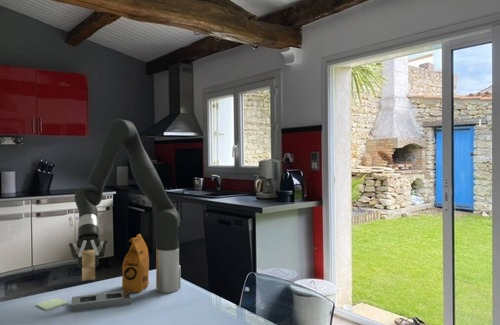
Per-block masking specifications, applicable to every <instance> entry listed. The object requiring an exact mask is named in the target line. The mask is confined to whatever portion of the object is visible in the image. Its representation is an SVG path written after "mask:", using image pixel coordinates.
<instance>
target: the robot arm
mask: <svg viewBox="0 0 500 325" xmlns="http://www.w3.org/2000/svg"><path fill="white" fill-rule="evenodd" d="M121 146H123V147H124V149H125V152H126V153H127V155H128V159H129V165H130V170H131V173H132V176H133V178H134V180H135V182H136V185H137V187H138V188H139V189H140V191H141V192H142V194H144V196H146V198H147V199H148V200H149V202H150V203H151V205H152V206H153V209H154V210H155V213H156V217H155V220H154V235H155V237H154V240H155V241H154V242H155V245H156V248H155V249H156V250H155V251H156V253H155V254H156V255H155V256H156V261H155V262H156V265H155V270H156V273H155V278H156V279H155V287H156V288H155V291H156V292H158V293H159V294H170V293H175V292H177V291H179V289H181V283H182V282H181V281H182V280H181V279H182V278H181V274H182V273H181V271H182V268H181V265H180V241H179V237H178V236H179V226H180V223H181V216H180V214H179V212H178V210H177V209H176V207H175V206H174V204H173V203H172V201H171V200H170V198H169V195H168V194H167V192H166V190H165V187H164V184H163V182H162V180H161V178H160V176H159V174H158V172H157V170H156V168H155V166H154V164H153V162H152V161H151V159H150V157H149V155H148V153H147V151H146V150H145V148H144V146H143V143H142V140H141V138H140V135H139V133H138V130H137V128H136V126H135V124H134V123H133V122H132V121H130V120H126V119H120V118H119V119H115V120H113V121H112V122H111V123H110V124H109V126H108V130H107V133H106V135H105V139H104V142H103V144H102V148H101V150H100V153H99V155H98V157H97V159H96V161H95V164H94V166H93V167H92V169H91V172H90V174H89V176H88V177H87V182H89V184H91V185H92V186H94V187H95V189H93V188H89V187H87V186H80V187H78V188H77V189H76V191H75V192H74V202H75V205H76V208H77V210H78V225H77V227H78V228H77V240H76V241H75V243H72V242H69V244H68V249H69V252H70V255H71V257H72V259H73V260H75V261H76V260H77V266H78V268H79V269H80V270H82V251H84V250H95V269H96V268H97V267H98V266H99V265H100V258H104V256H105V253H106V250H107V246H108V240H104V241H103V240H101V239H100V230H99V229H100V226H99V225H100V224H99V214H98V213H99V212H98V208H97V206H99V205H100V203H101V202H102V198H103V192H104V189H105V185H106V183H107V181H108V178H109V177H110V175H111V172H112V171H113V167H114V162H115V160H116V159H115V157H116V155H117V152H118V151H119V149H120V147H121ZM99 246H100V247H101V250H100V252H99V251H98V247H99ZM77 248H78V249H79V252H78V254H77V253H76V249H77Z"/></svg>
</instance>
